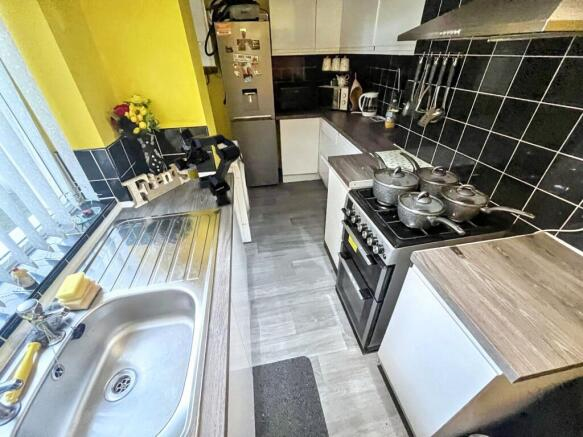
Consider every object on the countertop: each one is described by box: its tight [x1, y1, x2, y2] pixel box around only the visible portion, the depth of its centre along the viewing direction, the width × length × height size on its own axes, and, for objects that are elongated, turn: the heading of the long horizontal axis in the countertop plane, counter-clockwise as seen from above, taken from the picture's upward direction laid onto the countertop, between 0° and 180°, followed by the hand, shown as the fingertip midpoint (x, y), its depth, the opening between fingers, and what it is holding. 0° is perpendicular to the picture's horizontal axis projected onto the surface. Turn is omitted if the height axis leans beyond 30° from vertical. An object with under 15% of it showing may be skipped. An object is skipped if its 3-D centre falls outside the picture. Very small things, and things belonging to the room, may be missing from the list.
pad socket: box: [198, 174, 212, 189], centre depth 147 cm, size 8×8×4 cm
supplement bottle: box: [186, 164, 200, 181], centre depth 139 cm, size 5×5×10 cm
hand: (190, 167), depth 138 cm, fingers closed on supplement bottle, 5 cm apart
